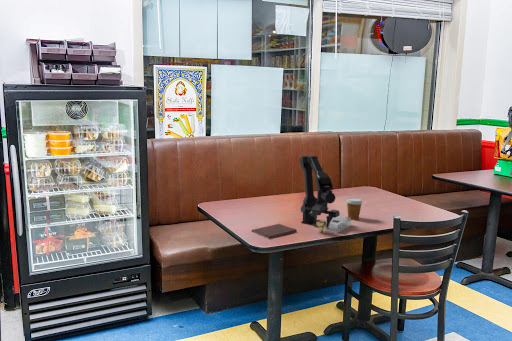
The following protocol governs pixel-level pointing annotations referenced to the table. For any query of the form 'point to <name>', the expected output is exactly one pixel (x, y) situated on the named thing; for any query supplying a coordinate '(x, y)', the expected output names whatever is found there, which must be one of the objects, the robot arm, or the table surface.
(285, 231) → the notebook
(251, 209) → the table surface
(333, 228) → the grey white block
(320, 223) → the brass pin
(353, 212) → the disposable coffee cup
